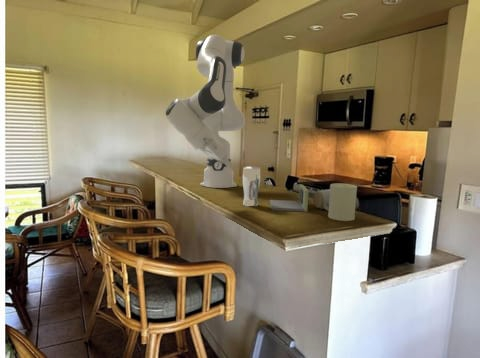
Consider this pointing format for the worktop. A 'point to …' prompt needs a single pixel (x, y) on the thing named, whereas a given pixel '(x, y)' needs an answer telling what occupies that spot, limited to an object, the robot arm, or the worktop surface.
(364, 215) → the worktop surface
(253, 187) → the beer glass
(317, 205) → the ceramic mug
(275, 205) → the chute mount
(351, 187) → the can
